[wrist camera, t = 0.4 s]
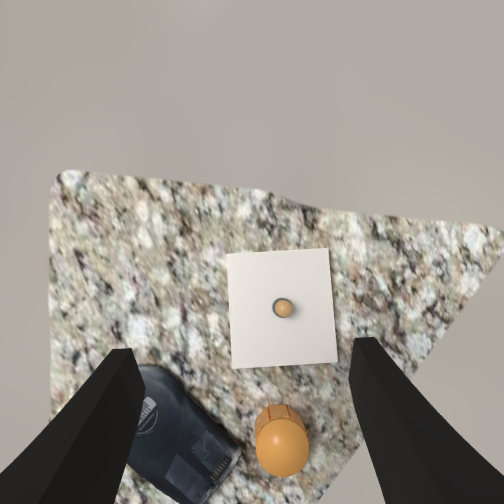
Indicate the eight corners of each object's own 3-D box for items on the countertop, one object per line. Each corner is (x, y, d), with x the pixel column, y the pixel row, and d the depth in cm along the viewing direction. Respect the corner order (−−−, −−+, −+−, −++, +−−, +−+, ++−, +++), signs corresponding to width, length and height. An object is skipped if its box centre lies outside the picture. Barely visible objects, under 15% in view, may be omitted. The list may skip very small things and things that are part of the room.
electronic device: (247, 426, 37) (142, 344, 36) (248, 462, 32) (124, 365, 31) (194, 487, 38) (89, 407, 37) (186, 532, 32) (62, 440, 31)
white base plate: (333, 358, 37) (346, 368, 32) (233, 364, 37) (230, 376, 32) (324, 250, 38) (335, 244, 33) (227, 255, 38) (224, 250, 33)
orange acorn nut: (303, 452, 36) (311, 475, 31) (256, 455, 36) (257, 478, 31) (300, 403, 36) (307, 419, 32) (254, 406, 36) (254, 422, 32)
